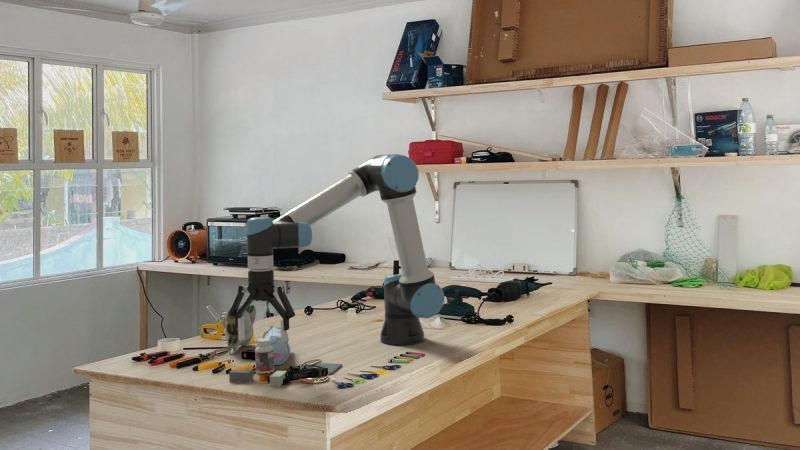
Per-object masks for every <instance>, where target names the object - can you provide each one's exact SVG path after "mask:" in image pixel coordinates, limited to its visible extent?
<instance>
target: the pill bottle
mask: <svg viewBox="0 0 800 450" xmlns="http://www.w3.org/2000/svg"><path fill="white" fill-rule="evenodd" d="M270 343H271V342H270V339H266V338H264V339H262V338H258V339H256V345H257V346H256V347H255V349H254V354H255V355H254V356H255V372H256V374H260V375H261V374H263V375H265V373H267V374H270V373H269V372H272V373H274V371H275V365H274V356H273V347H272V346H270Z"/></svg>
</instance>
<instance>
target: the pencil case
mask: <svg viewBox="0 0 800 450" xmlns="http://www.w3.org/2000/svg"><path fill="white" fill-rule="evenodd" d="M264 338H266V339H270V342H271V343H270V346H272V347H273V356H274V366H280V365H283V364H284V363H285V362H286V361H288V358H289V357H290V355H291V346H290V344H289V341H290V338H289V335H288V333H287V340H286V341H284V342H281V326H279V325H275V324H272V325H270V326H269V325H268V327H266V329H265V330H264V332H263V335H262V338H261V339H264Z"/></svg>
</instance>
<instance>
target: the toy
mask: <svg viewBox="0 0 800 450" xmlns="http://www.w3.org/2000/svg"><path fill="white" fill-rule="evenodd" d="M241 306H242V305H241V304H240V305H239V308H238V310H239V309H240V308H241ZM230 310H231V307H230V308H228V309H227V311H226V314H225V316H224V317H225V318H224V326H225V335H226V339H227V345H226V346H227V351H228V354H230V353H231V351H233V352H232V353H233V354H234V355H235V353H236V351H237V349H238V347H240V346H241V347H246V346H247V345H249V344H250V343H251V341H252V340H253V336H254V323H255V321H256V320H255V319H256V315H257V311H256V306H255V305H254V304H250V306H249V307H248V308H247V309H246V311H245V312H244V313H243V315H242V316H241V317H244V330H245V338H244V339H242V340H239V338H238V328H236V325H235V324H236V323H235V317H233V316H230V315H229V312H230ZM238 310H237V312H238Z"/></svg>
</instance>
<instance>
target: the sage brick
mask: <svg viewBox="0 0 800 450" xmlns="http://www.w3.org/2000/svg"><path fill="white" fill-rule="evenodd" d="M286 372H287V373H288V371H287V370H276V371H275V372H272V374H271V375H269V387H281V386H283V385H284V384H283V379H284V377H285V374H286ZM282 384H283V385H282Z"/></svg>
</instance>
